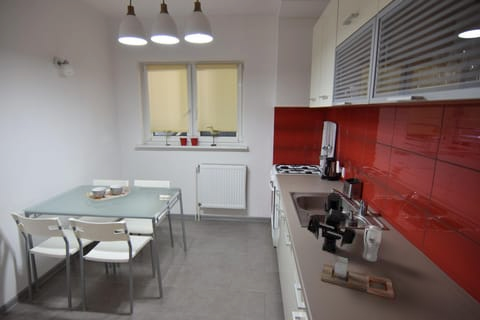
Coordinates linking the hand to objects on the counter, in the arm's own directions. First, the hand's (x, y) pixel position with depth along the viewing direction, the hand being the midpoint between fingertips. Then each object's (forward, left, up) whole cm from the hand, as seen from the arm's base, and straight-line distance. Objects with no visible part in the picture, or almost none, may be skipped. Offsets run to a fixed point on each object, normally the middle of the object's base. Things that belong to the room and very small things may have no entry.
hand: (329, 242), depth 105 cm
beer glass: (-24, +17, -17) cm, 34 cm away
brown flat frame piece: (-3, +11, -16) cm, 20 cm away
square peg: (-3, +5, -16) cm, 18 cm away
